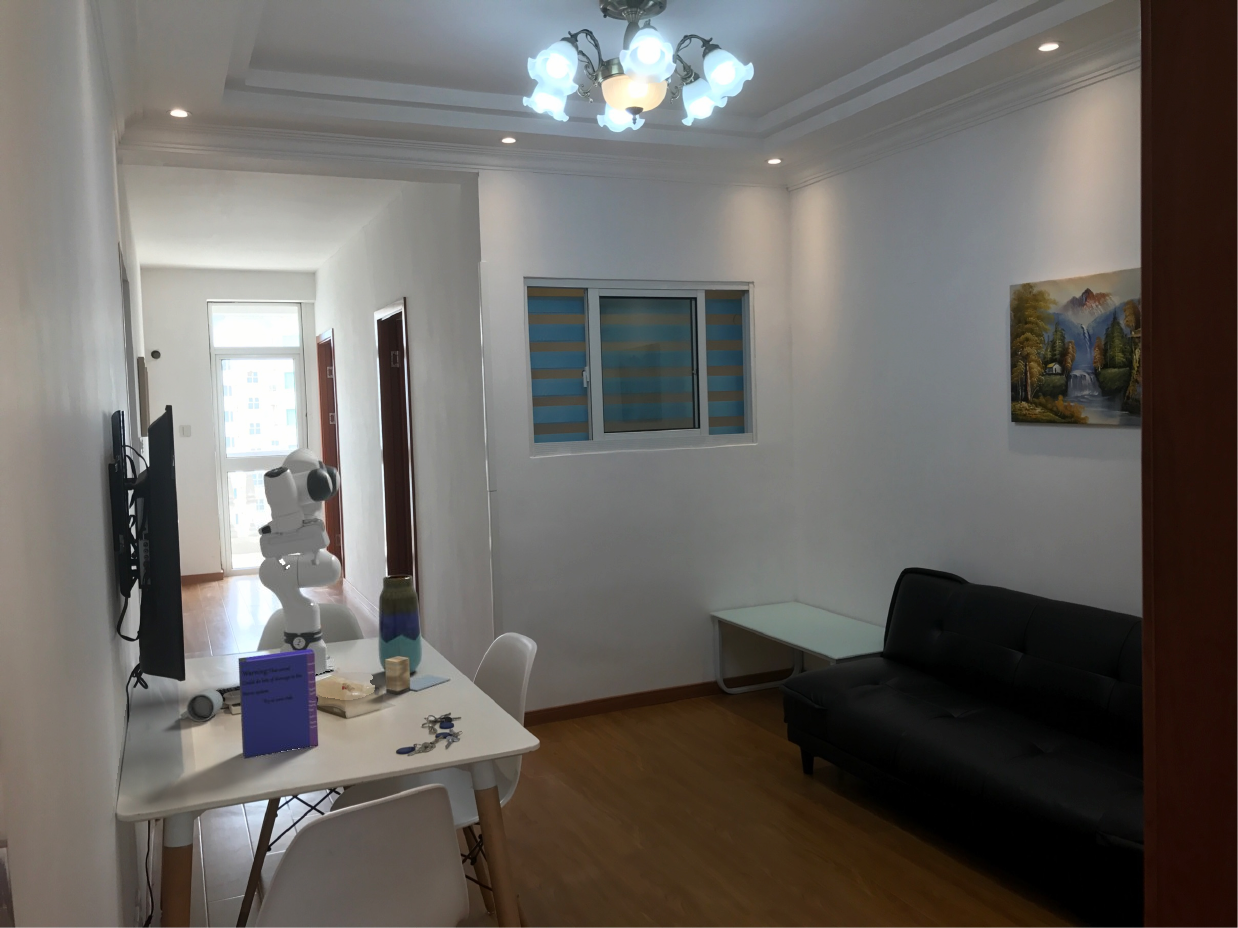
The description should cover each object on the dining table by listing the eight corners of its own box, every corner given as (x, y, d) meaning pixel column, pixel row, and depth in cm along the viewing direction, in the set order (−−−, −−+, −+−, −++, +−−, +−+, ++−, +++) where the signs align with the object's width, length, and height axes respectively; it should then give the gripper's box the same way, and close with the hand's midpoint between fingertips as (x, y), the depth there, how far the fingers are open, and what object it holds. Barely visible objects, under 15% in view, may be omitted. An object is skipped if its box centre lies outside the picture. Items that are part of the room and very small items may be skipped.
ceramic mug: (225, 712, 272) (223, 685, 272) (215, 720, 264) (213, 693, 264) (187, 714, 272) (185, 687, 271) (175, 723, 263) (173, 696, 263)
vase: (419, 664, 320) (416, 572, 319) (426, 674, 307) (422, 578, 306) (377, 669, 315) (373, 575, 314) (382, 679, 302) (378, 581, 301)
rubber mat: (417, 691, 288) (417, 689, 288) (394, 686, 294) (394, 685, 294) (450, 680, 300) (450, 678, 300) (427, 675, 305) (427, 674, 305)
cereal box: (315, 740, 246) (311, 648, 245) (318, 745, 241) (314, 651, 240) (242, 752, 238) (238, 657, 237) (244, 758, 233) (240, 661, 232)
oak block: (397, 694, 285) (396, 661, 285) (386, 692, 288) (385, 659, 287) (410, 690, 289) (409, 658, 289) (398, 688, 292) (397, 656, 292)
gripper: (326, 514, 283) (338, 558, 285) (262, 525, 285) (274, 569, 288) (317, 519, 276) (329, 564, 279) (252, 530, 279) (264, 575, 281)
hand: (301, 567), depth 283 cm, fingers open, 8 cm apart
